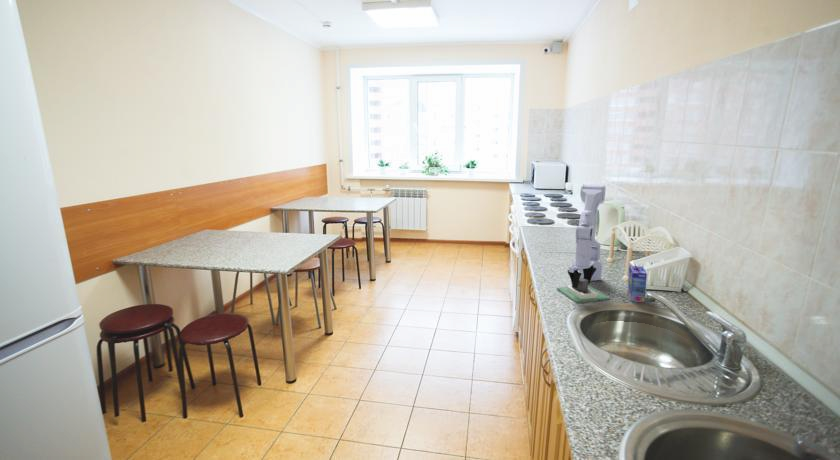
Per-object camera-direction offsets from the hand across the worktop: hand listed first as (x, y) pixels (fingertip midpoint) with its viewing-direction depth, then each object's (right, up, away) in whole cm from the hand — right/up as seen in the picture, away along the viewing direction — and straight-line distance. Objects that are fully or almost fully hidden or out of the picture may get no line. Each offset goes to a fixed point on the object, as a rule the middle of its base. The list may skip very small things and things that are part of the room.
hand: (580, 285), depth 169 cm
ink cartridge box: (+21, -5, -3) cm, 22 cm away
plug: (0, -3, +1) cm, 3 cm away
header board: (+1, -4, +1) cm, 4 cm away
